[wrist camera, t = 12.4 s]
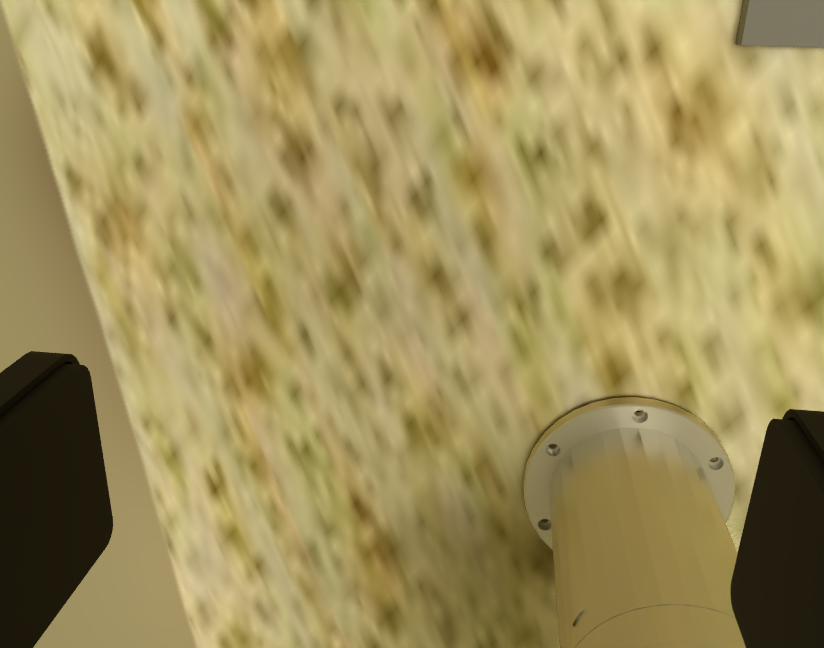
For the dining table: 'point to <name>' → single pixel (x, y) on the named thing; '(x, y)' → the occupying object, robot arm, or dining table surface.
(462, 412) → the dining table surface
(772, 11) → the mat
